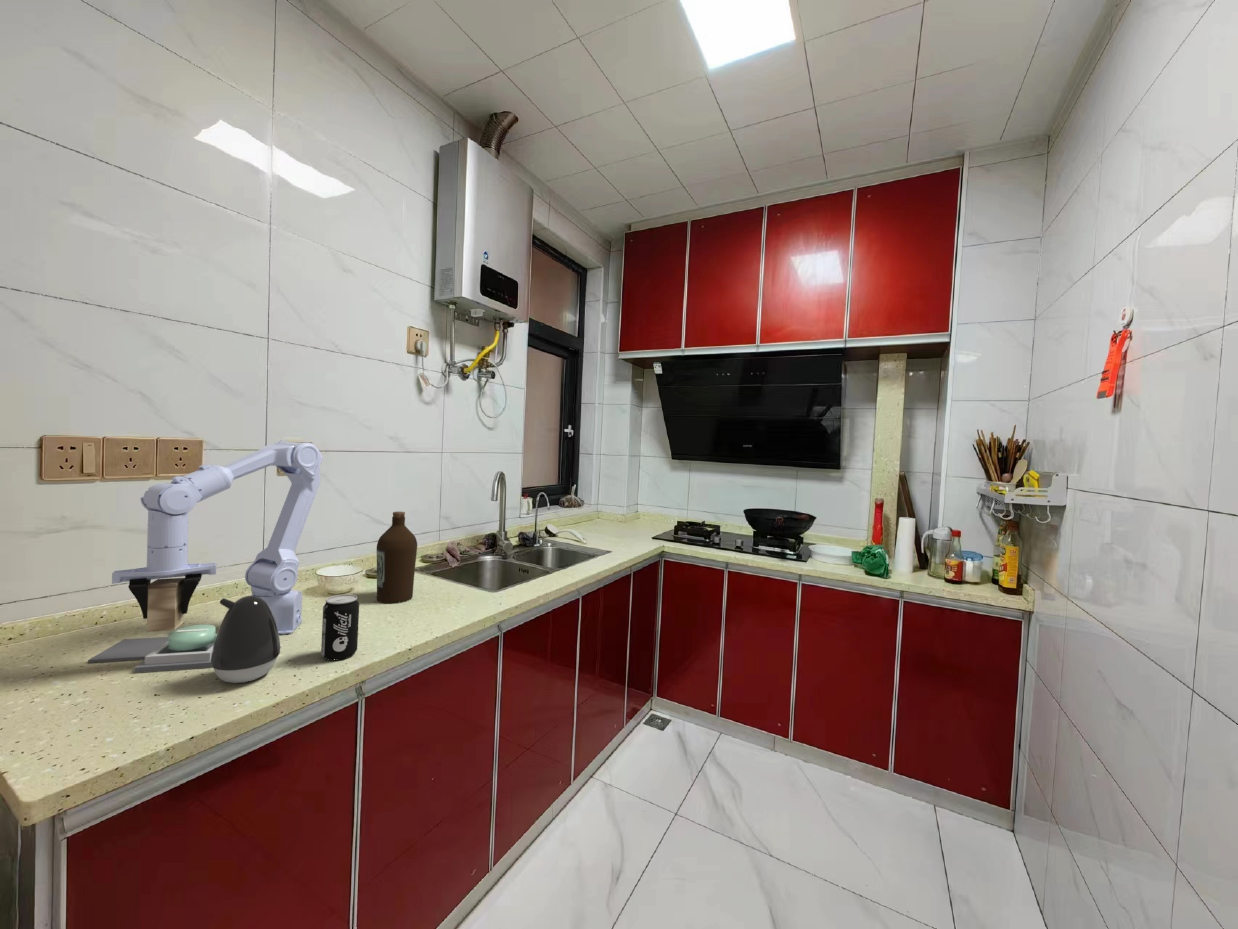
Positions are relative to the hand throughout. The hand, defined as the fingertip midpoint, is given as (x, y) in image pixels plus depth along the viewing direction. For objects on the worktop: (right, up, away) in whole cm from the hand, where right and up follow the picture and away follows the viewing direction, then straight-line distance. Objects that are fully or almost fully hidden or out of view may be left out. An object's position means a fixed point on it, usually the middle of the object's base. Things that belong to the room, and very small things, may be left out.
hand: (166, 614), depth 92 cm
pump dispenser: (+18, -11, -3) cm, 21 cm away
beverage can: (+29, -11, +8) cm, 32 cm away
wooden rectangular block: (0, -2, 0) cm, 2 cm away
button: (+2, -7, +3) cm, 8 cm away
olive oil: (+23, -10, +45) cm, 51 cm away
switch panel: (+2, -9, +3) cm, 10 cm away
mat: (-10, -9, +4) cm, 14 cm away
